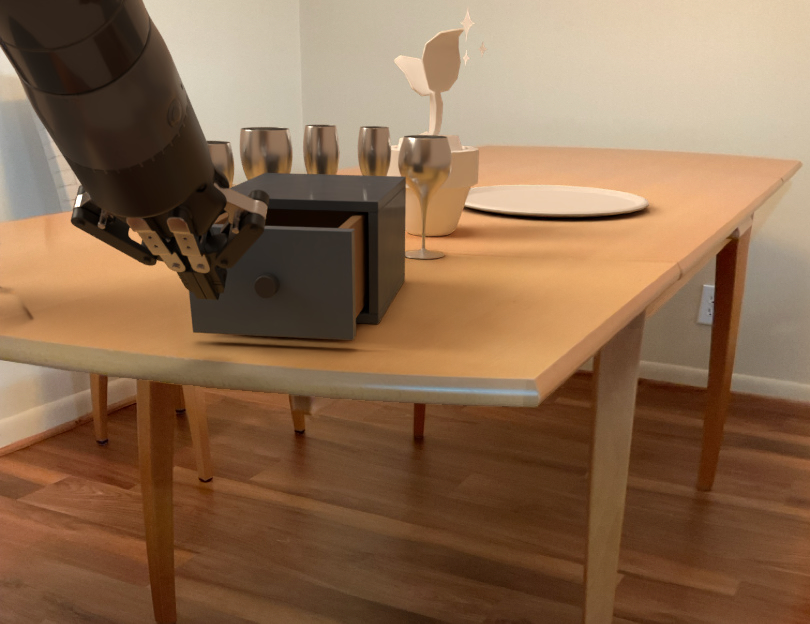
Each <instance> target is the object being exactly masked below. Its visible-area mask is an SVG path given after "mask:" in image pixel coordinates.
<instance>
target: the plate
mask: <svg viewBox="0 0 810 624" xmlns="http://www.w3.org/2000/svg"><path fill="white" fill-rule="evenodd" d="M649 206H650V202H649V200H648V199H647V198H645V197H643V196H641V195H639V194H636V193H631V192H627V191H622V190H615V189H609V188H601V187H592V186H581V185H579V186H578V185H566V184H565V185H563V184H496V185H485V186H484V185H483V186H476V187H471V188H470V190H469V193H468V196H467V199H466V202H465V205H464V208H468V209H474V210H479V211H484V212H488V213H493V214H499V215H508V216H515V217H516V216H517V217H528V218H547V219H548V218H549V219H551V218H552V219H581V218H598V217H607V216H615V215H621V214H629V213H633V212H638V211H642V210H644V209H645V208H648V207H649Z"/></svg>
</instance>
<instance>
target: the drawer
mask: <svg viewBox="0 0 810 624" xmlns="http://www.w3.org/2000/svg"><path fill="white" fill-rule="evenodd" d="M368 213H369V212H349V211H317V210H286V209H268V210H267V215H266V221H265V227H264V232H263V234H262V235H261V236H260V237H259V238H258V239H257V240H256V242H255V243H254V244H253V245H252V246H251V247H250V248H249V249H248V250H247V252H246V253H245V254H244V255H243V256H242V257H241V258H240V259H239V260H238V262H237V263H236V264H235V265H234V266H233V267H232V268H229V269H226V270H227V278H226V283H225V289H224V293H220V296H219V299H218V300H210V299H197V298H196V296H195V294H194V292H190V291H189V290H188V295H189V296H188V297H189V306H190V316H191V325H192V333H194V334H214V335H215V334H216V335H233V336H234V335H235V336H258V337H278V338H279V337H280V338H296V339H297V338H298V339H299V338H300V339H320V340H321V339H322V340H341V341H354V339H355V338H356V336H357V323H356V317H357V316H358V315H359V313H360V312H361V310H362V309H363V307H364V306H365V305H366V303H367V302H368V300H369V235H368ZM227 219H228V213H227V212H226V213H224V214H222V215H220V216H219V217H218V218H217V220H216V221H215V223H214V224H213V225H212V229H213V232H214V235H216V234H220V231H221V228H222V227H223V225H224V224H225V223H226V222H227V221H228V220H227Z"/></svg>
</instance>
